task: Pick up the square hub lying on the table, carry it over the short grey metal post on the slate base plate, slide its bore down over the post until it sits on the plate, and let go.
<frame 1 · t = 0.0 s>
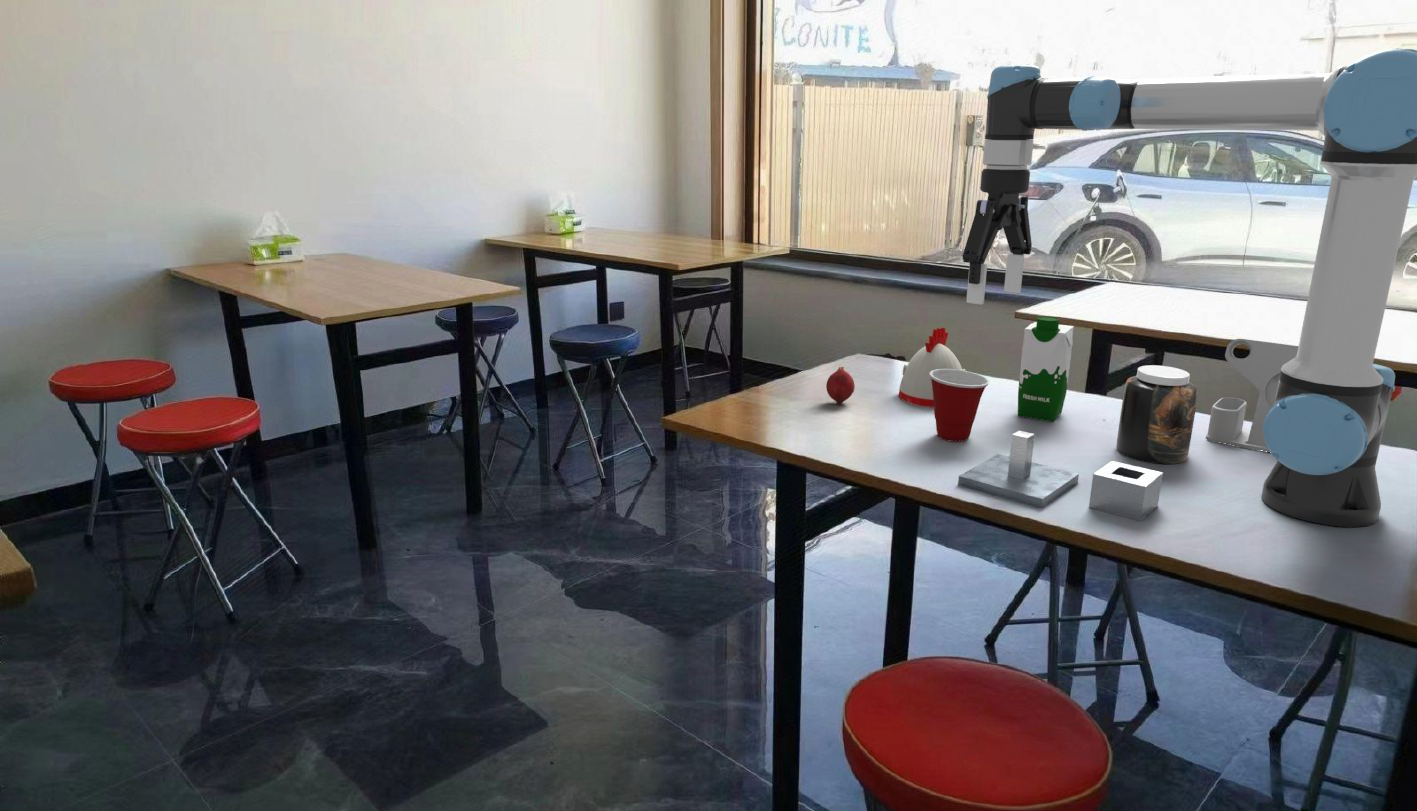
hand: (994, 297, 155), 28 cm above the table, tool pointing down, fingers open, 13 cm apart
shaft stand: (1018, 483, 150), on the table
kitchen timer: (932, 398, 197), on the table
phone holder: (1260, 444, 169), on the table
jar: (1151, 453, 164), on the table
hub: (1123, 506, 141), on the table
milk carton: (1039, 415, 185), on the table
onion: (839, 404, 193), on the table
plastic cup: (954, 437, 172), on the table
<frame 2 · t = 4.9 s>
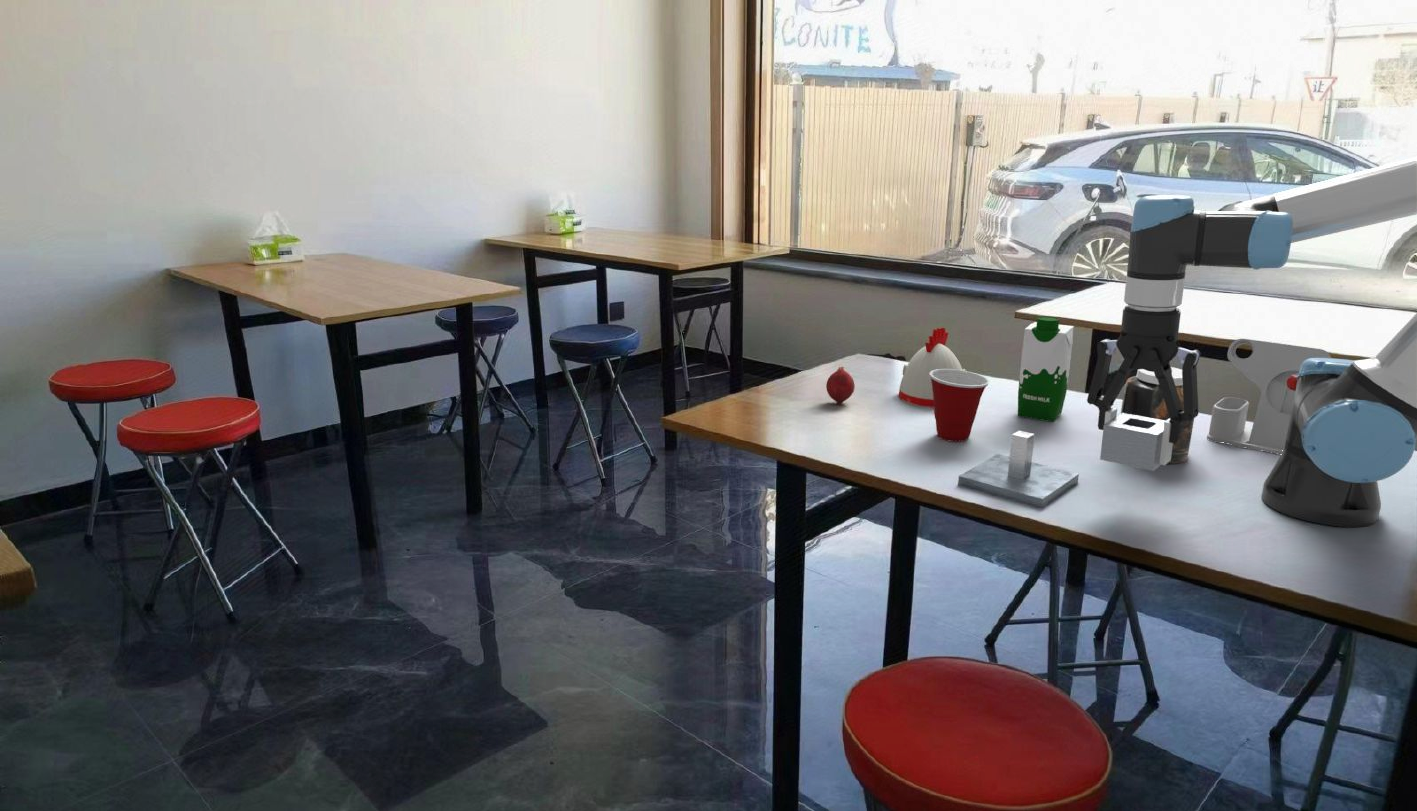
hand: (1135, 456, 138), 8 cm above the table, tool pointing down, fingers closed on hub, 8 cm apart
hub: (1135, 458, 139), point 8 cm above the table, touching gripper
everything else where it was.
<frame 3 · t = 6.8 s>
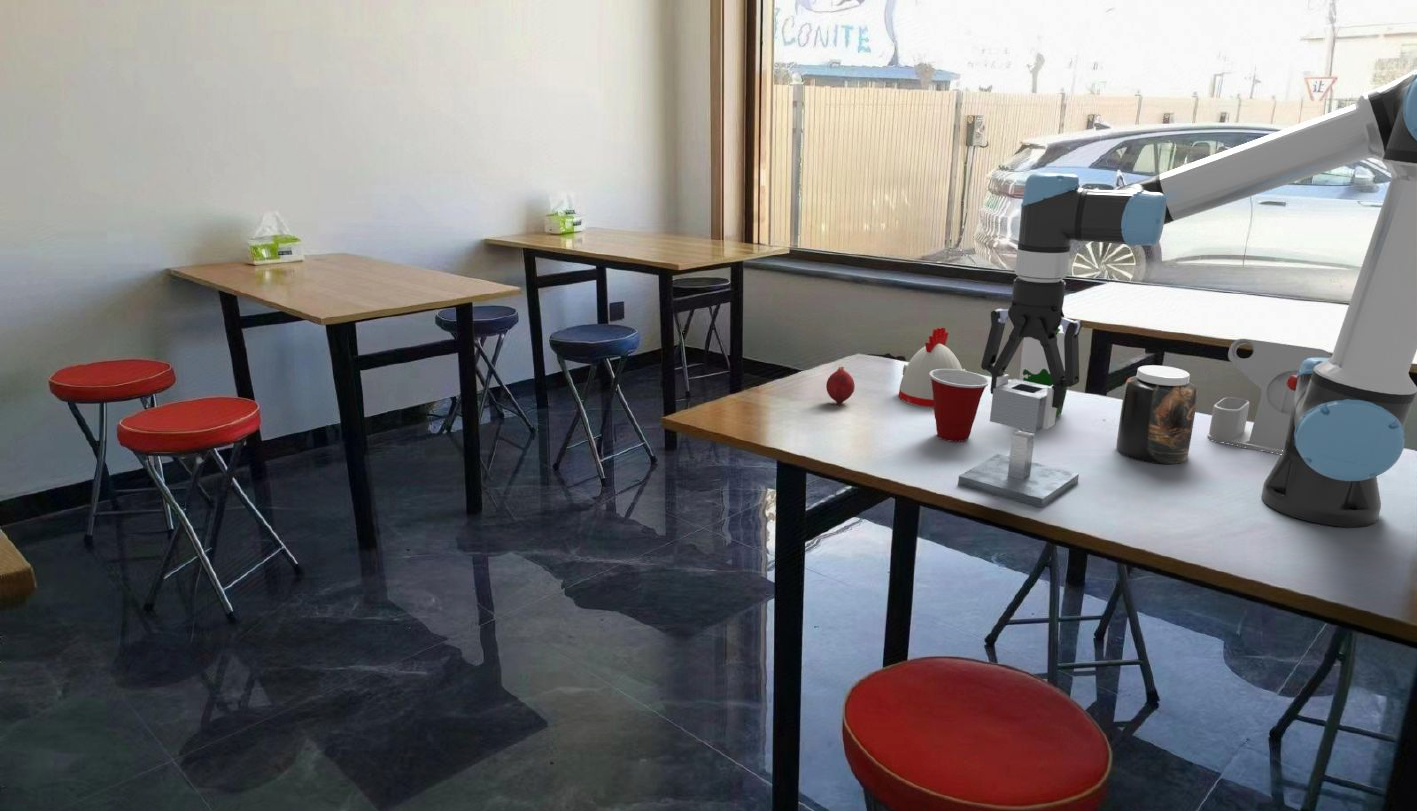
hand: (1023, 420, 147), 11 cm above the table, tool pointing down, fingers closed on hub, 8 cm apart
hub: (1022, 421, 147), point 11 cm above the table, touching gripper
everything else where it was.
when the fingers open (2 cm above the table, at t = 8.9 s): hub stays where it is, resting on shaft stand.
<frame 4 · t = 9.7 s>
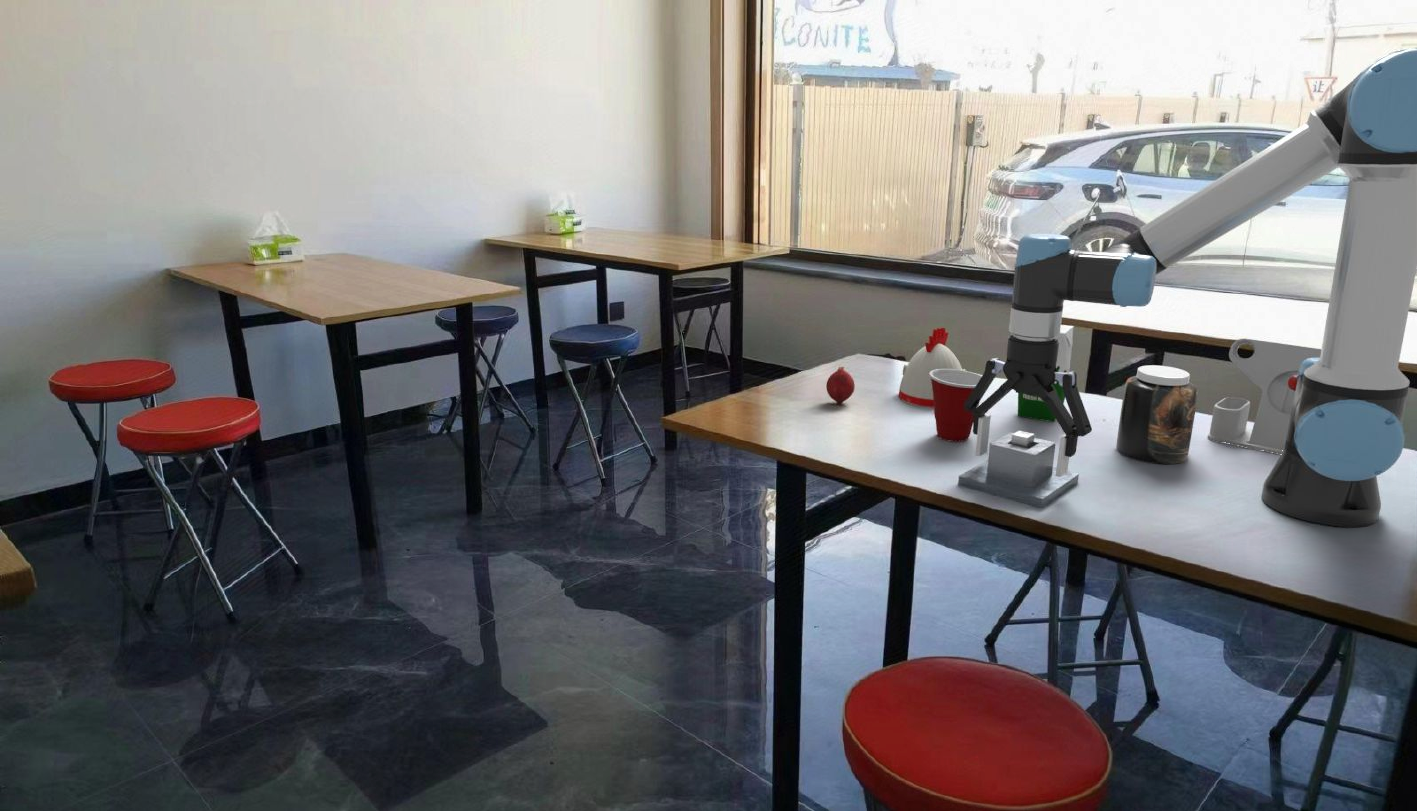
hand: (1020, 464, 149), 3 cm above the table, tool pointing down, fingers open, 13 cm apart
hub: (1019, 475, 150), point 1 cm above the table, touching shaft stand
everything else where it was.
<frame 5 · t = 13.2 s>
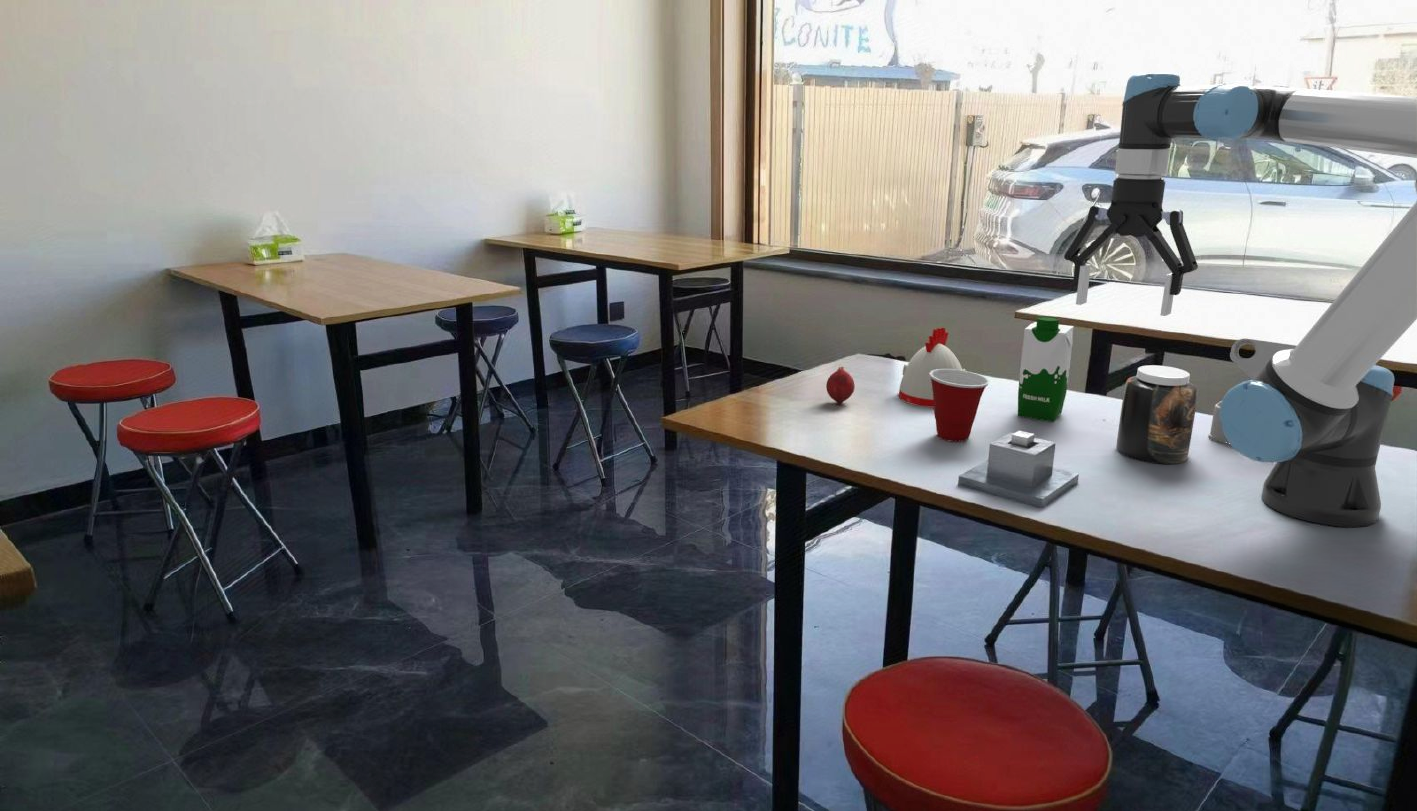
hand: (1122, 309, 152), 27 cm above the table, tool pointing down, fingers open, 13 cm apart
nothing on the table moved.
at the end: hub 0.1 cm off-centre on the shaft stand, point 1.5 cm above the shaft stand's base; hub tilted 0°; the gripper is holding nothing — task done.
